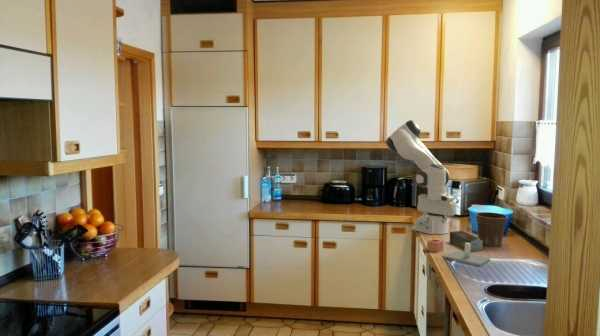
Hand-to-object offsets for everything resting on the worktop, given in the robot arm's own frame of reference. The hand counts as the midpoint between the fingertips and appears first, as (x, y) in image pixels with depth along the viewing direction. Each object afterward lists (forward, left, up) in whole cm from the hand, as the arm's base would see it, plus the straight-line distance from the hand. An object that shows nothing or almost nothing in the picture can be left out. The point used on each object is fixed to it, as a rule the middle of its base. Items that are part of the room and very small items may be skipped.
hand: (435, 221), depth 239 cm
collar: (0, 0, -15) cm, 15 cm away
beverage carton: (+8, +19, -16) cm, 26 cm away
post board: (+19, -4, -15) cm, 25 cm away
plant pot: (+16, +33, -15) cm, 40 cm away
